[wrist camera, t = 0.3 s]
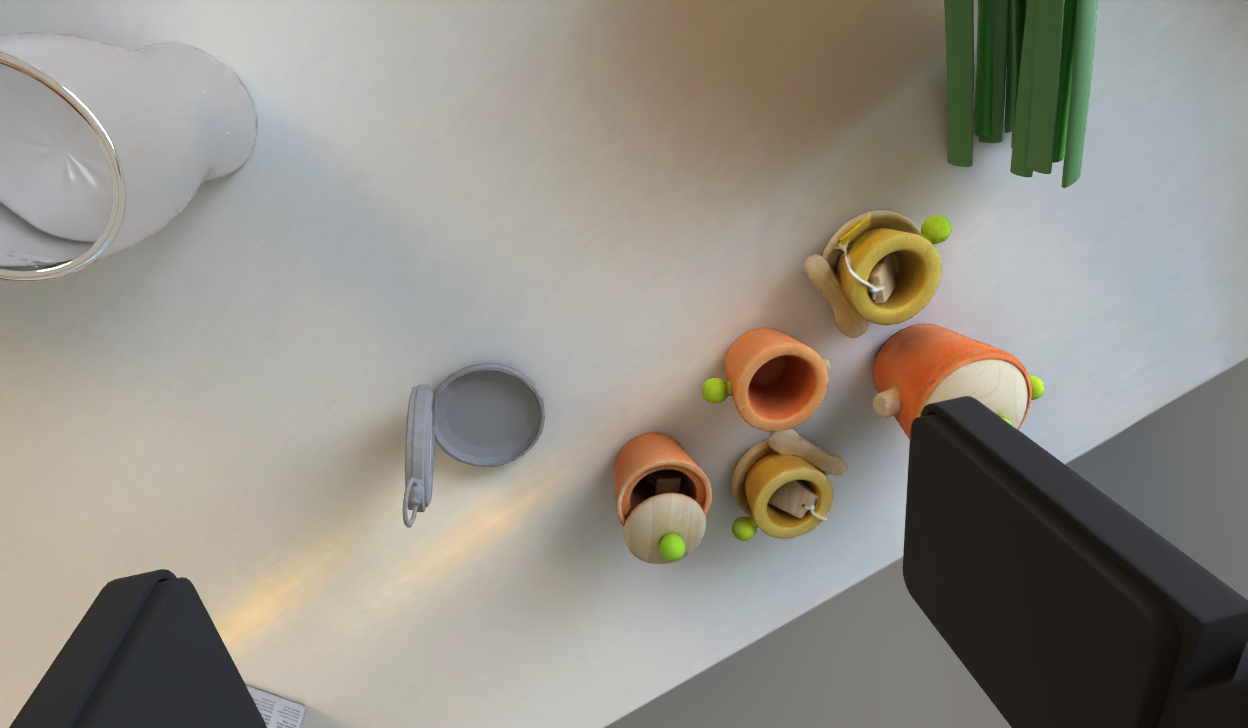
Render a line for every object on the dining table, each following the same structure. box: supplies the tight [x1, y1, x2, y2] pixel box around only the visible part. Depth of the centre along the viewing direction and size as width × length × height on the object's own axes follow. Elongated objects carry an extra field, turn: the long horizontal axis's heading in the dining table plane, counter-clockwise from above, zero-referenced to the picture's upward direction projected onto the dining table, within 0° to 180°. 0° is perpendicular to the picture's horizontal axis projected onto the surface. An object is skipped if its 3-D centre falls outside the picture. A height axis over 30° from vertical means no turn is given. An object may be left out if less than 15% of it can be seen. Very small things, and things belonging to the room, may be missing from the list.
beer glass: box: [0, 33, 257, 282], centre depth 27 cm, size 7×7×15 cm
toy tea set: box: [614, 210, 1044, 564], centre depth 42 cm, size 26×16×10 cm, turn 132°
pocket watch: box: [403, 364, 545, 528], centre depth 38 cm, size 8×8×10 cm
